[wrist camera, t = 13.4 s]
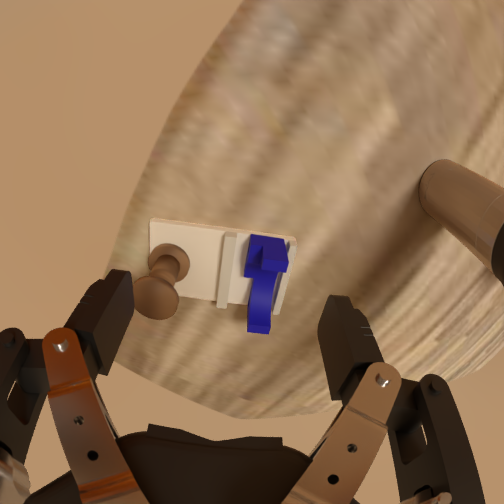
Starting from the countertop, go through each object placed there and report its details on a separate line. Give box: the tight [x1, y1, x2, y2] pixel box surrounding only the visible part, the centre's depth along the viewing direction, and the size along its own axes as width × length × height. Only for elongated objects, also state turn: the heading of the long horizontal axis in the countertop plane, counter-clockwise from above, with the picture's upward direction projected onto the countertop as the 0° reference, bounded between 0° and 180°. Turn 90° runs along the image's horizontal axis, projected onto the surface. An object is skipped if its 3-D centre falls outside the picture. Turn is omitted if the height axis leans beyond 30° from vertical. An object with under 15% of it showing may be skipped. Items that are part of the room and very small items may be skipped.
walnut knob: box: [133, 243, 190, 320], centre depth 37 cm, size 6×6×9 cm
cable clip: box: [244, 234, 289, 334], centre depth 40 cm, size 12×4×6 cm, turn 170°
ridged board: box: [150, 218, 298, 315], centre depth 42 cm, size 20×12×3 cm, turn 81°
